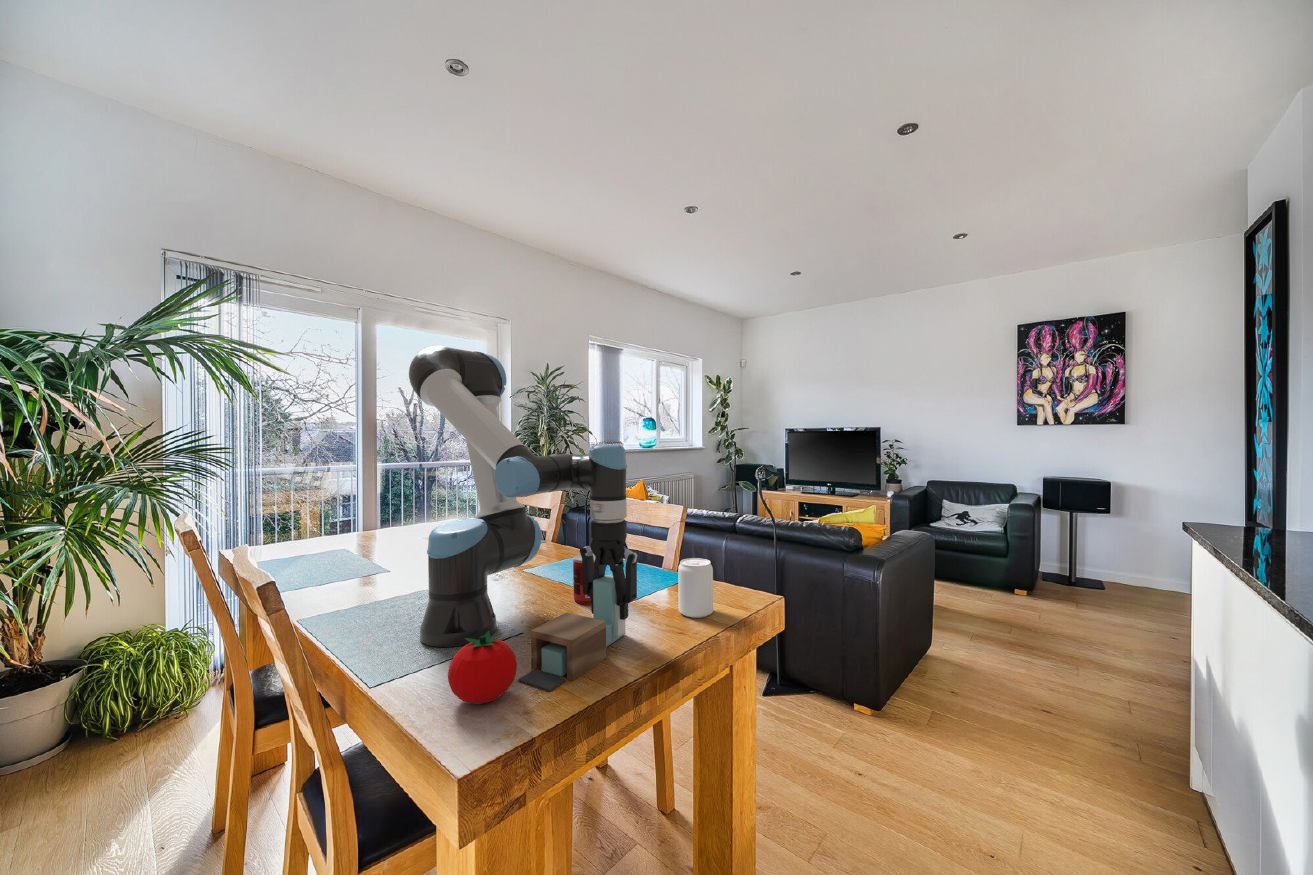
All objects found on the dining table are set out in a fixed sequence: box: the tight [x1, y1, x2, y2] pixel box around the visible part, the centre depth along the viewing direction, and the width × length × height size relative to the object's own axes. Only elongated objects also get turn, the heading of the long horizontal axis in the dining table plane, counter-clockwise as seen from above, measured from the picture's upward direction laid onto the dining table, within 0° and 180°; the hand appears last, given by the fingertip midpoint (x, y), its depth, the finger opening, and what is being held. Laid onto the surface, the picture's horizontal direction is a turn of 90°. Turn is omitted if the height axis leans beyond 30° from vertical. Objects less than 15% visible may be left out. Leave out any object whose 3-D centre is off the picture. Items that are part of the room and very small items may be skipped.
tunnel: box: [530, 612, 607, 682], centre depth 91 cm, size 9×10×7 cm
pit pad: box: [517, 669, 566, 693], centre depth 84 cm, size 7×4×1 cm, turn 61°
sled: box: [541, 573, 626, 678], centre depth 96 cm, size 4×20×12 cm, turn 151°
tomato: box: [447, 631, 518, 705], centre depth 79 cm, size 10×10×10 cm
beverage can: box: [677, 557, 714, 619], centre depth 116 cm, size 8×8×12 cm
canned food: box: [572, 554, 595, 605], centre depth 126 cm, size 8×8×11 cm
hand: (609, 631), depth 102 cm, fingers closed on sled, 4 cm apart
